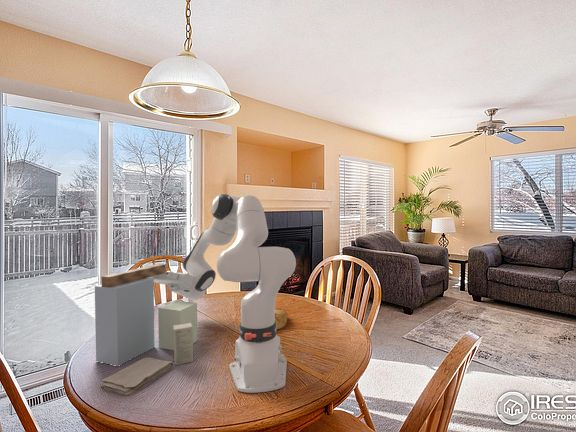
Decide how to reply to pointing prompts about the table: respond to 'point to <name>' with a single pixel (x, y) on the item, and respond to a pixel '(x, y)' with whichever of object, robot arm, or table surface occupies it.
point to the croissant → (280, 318)
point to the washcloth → (136, 375)
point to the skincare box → (183, 343)
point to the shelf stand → (124, 321)
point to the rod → (132, 275)
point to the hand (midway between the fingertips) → (158, 272)
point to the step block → (176, 321)
